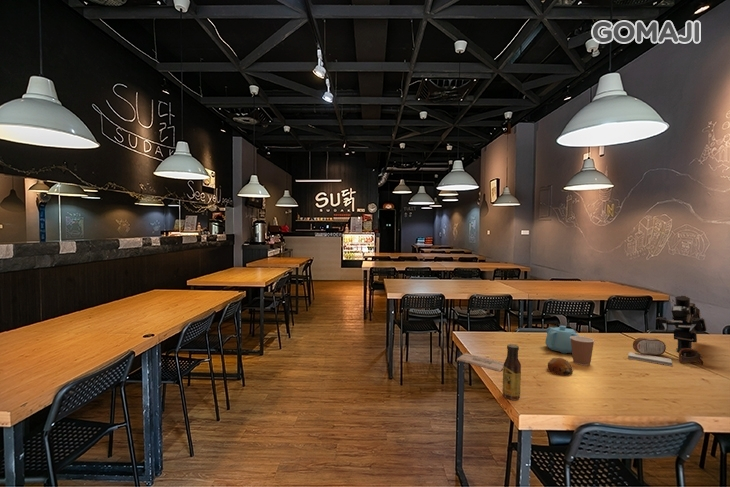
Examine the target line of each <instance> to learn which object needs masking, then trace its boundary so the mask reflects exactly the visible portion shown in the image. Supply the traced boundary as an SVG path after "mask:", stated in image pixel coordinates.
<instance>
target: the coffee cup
mask: <svg viewBox="0 0 730 487" xmlns="http://www.w3.org/2000/svg"><path fill="white" fill-rule="evenodd" d="M570 339H571V347H572V361H573V363H574V364H576V365H581V366H590V365H591V363H592V357H593V356H592V355H593V350H594V344H595V343H594V342H595V339H594V338H592V337H588V336H583V335H579V336H571V337H570Z"/></svg>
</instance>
